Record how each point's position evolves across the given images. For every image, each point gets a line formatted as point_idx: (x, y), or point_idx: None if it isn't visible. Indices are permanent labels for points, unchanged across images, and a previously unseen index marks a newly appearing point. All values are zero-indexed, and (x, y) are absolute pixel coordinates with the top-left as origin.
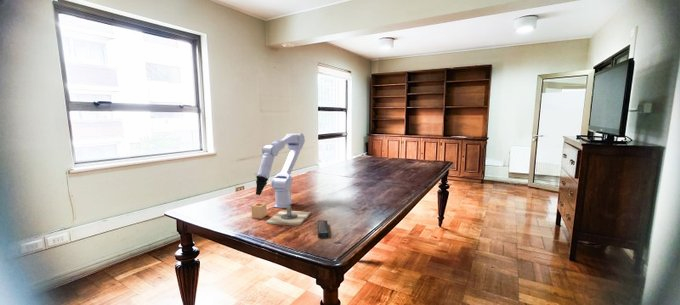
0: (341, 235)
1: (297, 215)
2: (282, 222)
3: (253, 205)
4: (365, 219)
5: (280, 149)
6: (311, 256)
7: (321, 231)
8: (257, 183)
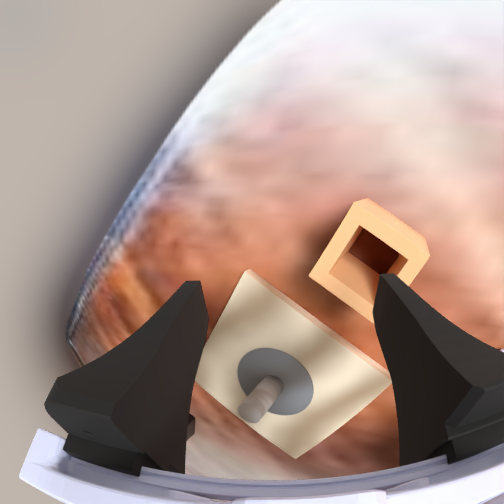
0: None
1: (269, 411)
2: (212, 333)
3: (363, 220)
4: None
5: None
6: (73, 316)
7: None
8: (130, 341)
